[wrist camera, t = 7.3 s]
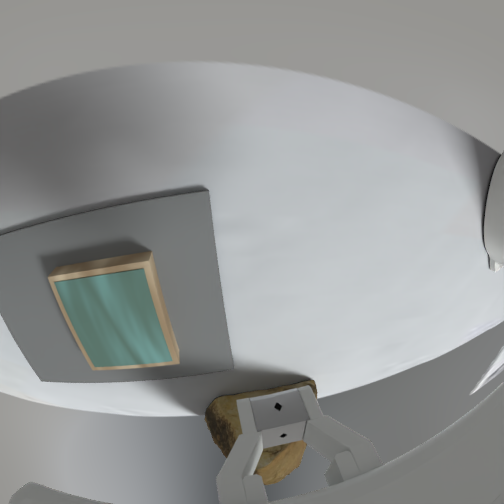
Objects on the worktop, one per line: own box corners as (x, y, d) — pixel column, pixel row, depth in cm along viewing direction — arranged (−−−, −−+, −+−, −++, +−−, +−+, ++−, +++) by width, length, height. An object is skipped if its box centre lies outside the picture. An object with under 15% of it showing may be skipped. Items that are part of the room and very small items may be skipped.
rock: (348, 374, 21) (252, 380, 17) (352, 460, 17) (256, 491, 13) (277, 384, 29) (197, 384, 25) (280, 450, 25) (199, 460, 20)
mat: (208, 189, 15) (208, 191, 15) (233, 365, 21) (234, 368, 20) (-24, 243, 12) (-27, 245, 11) (42, 378, 18) (41, 381, 17)
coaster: (148, 261, 14) (47, 277, 13) (179, 364, 17) (92, 371, 16) (151, 250, 15) (55, 267, 14) (179, 350, 19) (96, 358, 17)
